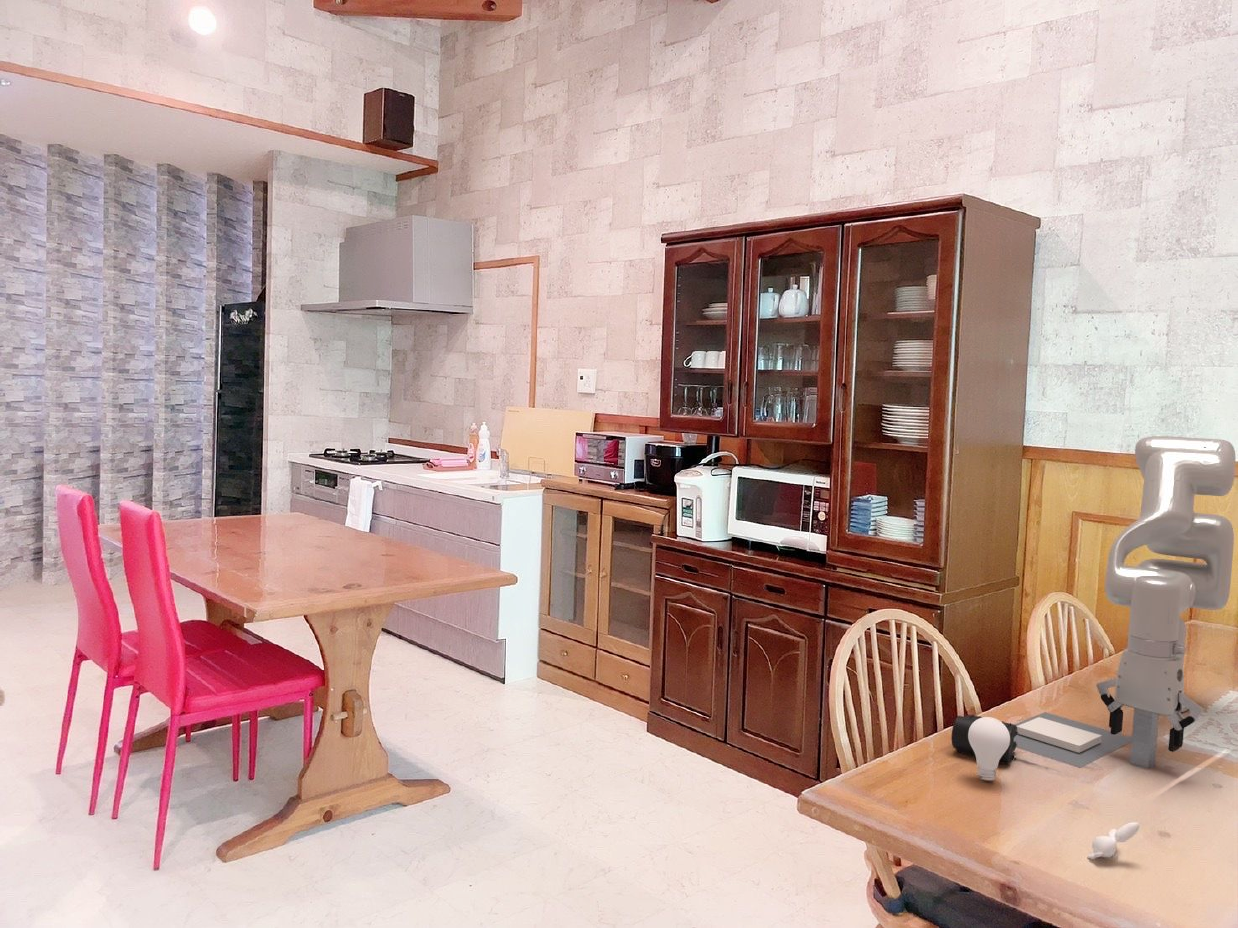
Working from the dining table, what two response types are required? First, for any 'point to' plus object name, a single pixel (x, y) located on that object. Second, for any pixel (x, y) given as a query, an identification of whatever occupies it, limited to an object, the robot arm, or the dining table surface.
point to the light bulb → (988, 745)
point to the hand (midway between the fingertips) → (1144, 741)
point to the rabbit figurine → (1113, 840)
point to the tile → (1059, 734)
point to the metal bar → (1144, 739)
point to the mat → (1067, 756)
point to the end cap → (962, 741)
